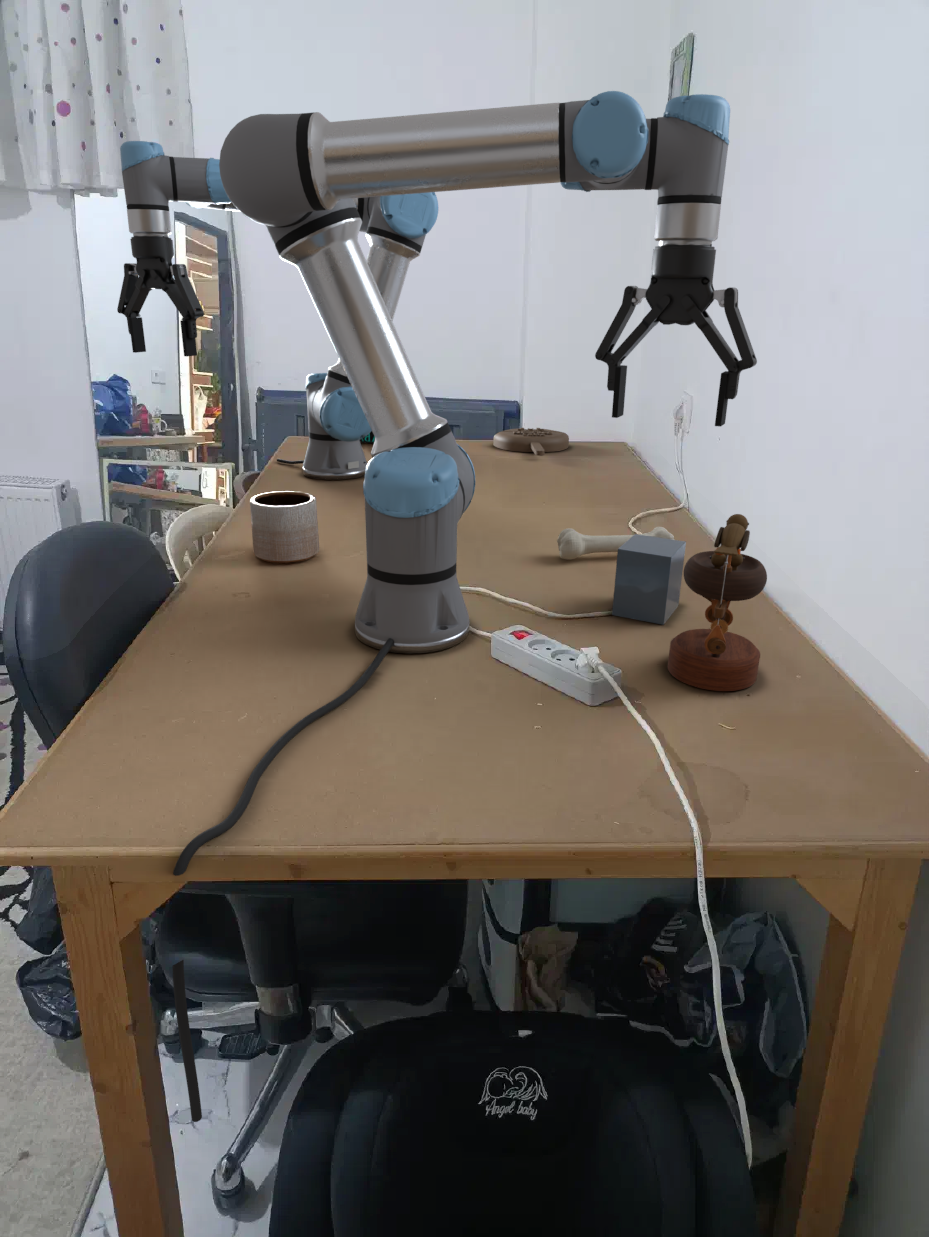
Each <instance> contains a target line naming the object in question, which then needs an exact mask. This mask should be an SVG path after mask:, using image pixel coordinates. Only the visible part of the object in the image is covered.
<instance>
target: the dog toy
mask: <svg viewBox="0 0 929 1237" xmlns="http://www.w3.org/2000/svg"><path fill="white" fill-rule="evenodd" d="M634 535H635V534H622V535H621V534H619V535H617V534H616V535H589V534H582V533H580V532H578V531H577V530H576V529H574V528H571V527H570V528H569V527H567V528H564V529H562V530H561V531H560V533H559V535H558V537H557V539H556V544H557V547H558V551H559V557H560V559H563V560H575V559H578V558H579V557H581V556H584V555H590V554H596V553H618V548H620V547H621V546H622V545H623V544H624V543H625V542H627V541H628V540H629V539H630V538H631V537H632V536H634ZM638 535H645V536H652V537H659V538H665V539H672V540H675V536H674V534H672V533H671V532H669V531H668V530H667V528H665V527H663V526H656V527H654V528H653V529H652V530H651V531H649V532H645V533H640V534H639V533H638Z"/></svg>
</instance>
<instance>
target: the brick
mask: <svg viewBox="0 0 929 1237" xmlns="http://www.w3.org/2000/svg"><path fill="white" fill-rule="evenodd" d="M633 535H634V536H632V537H631V538H630V539H629V540H628V541H627V542H625V543H624V544H623V545H622V546H621V547H620V548H618V552H616V553H617V554H616V566H615V574H614V575H615V576H614V588H613V589H614V590H613V599H612V612H611V615H612V616H615V617H620V618H625V619H630V620H631V619H632V620H636V621H641V622H646V623H651V624H652V623H653V624H658V625H661V626H663V625H665V624H666V622H668V620H669V618H670V617H671V616H672V615H673V613H674V612H675V611H676V610H677V608H678V607H679V604H680V598H681V597H680V596H681V589H682V588H681V586H682V580H683V573H684V564H685V562H684V561H685V554H686V547H687V546H686V545H687V541H685V540H677V539H674V540H672V539H665V538H659V537H652V536H645V535H639V533H638V534H637V533H634V534H633Z"/></svg>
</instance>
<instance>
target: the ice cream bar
mask: <svg viewBox="0 0 929 1237" xmlns="http://www.w3.org/2000/svg"><path fill="white" fill-rule="evenodd" d="M492 441H493V443H492V444H493V447H495V448H497V449H500V450H504V451H511V452H523V453H533V454H534V455H535V456H539V457H541V456H545V453H552V452H553V453H554V452H560V451H564V450H567V449H568V448H569V446H570V436H569V435H568V434H567V433H566V432H563V431H559V430H554V429H547V428H541V427H536V428H533V427H532V428H530V427H528V428H527V429H526V428H525V427H520V428H511V429H505V430H502V431H498V432H496V433H495V434H494V436H493V440H492Z"/></svg>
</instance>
